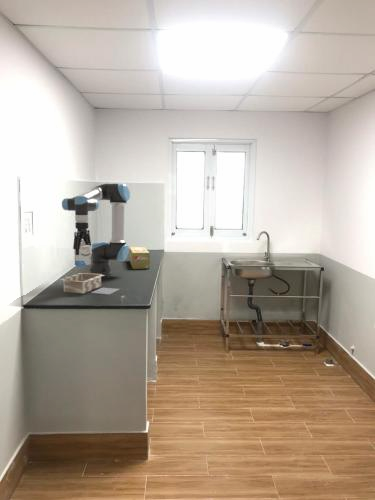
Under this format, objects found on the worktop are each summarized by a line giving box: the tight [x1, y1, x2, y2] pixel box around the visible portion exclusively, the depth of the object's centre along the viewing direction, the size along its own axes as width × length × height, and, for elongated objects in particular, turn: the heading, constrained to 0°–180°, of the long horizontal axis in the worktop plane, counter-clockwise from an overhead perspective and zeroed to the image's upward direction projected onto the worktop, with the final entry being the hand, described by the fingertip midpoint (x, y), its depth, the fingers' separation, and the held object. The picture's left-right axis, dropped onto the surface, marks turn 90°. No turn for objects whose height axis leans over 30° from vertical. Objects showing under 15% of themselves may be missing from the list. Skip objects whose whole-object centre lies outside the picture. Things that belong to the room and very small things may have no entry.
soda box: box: [129, 246, 151, 270], centre depth 346 cm, size 40×14×13 cm, turn 11°
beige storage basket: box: [59, 272, 106, 295], centre depth 256 cm, size 25×18×7 cm
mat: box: [90, 287, 121, 296], centre depth 251 cm, size 14×12×1 cm
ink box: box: [73, 239, 92, 267], centre depth 254 cm, size 9×5×15 cm, turn 141°
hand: (82, 258), depth 255 cm, fingers closed on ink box, 9 cm apart
